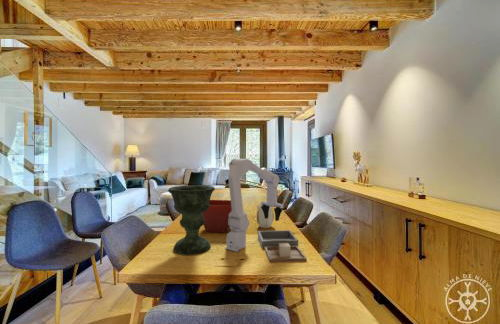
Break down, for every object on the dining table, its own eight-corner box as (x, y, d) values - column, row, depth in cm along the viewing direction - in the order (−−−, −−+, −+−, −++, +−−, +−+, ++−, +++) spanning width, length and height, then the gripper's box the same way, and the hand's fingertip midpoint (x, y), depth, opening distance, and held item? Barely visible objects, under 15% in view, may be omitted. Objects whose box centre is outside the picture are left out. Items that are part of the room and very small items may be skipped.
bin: (298, 248, 135) (298, 240, 135) (261, 249, 133) (261, 241, 133) (290, 237, 153) (290, 230, 153) (257, 238, 151) (257, 230, 151)
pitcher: (259, 231, 165) (259, 208, 165) (254, 223, 183) (254, 203, 182) (277, 230, 167) (277, 208, 166) (270, 223, 184) (270, 202, 184)
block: (290, 256, 122) (290, 246, 122) (280, 256, 122) (280, 246, 122) (288, 252, 126) (288, 243, 126) (278, 253, 126) (278, 243, 126)
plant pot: (236, 226, 177) (236, 200, 177) (231, 234, 158) (231, 205, 158) (207, 225, 179) (207, 199, 179) (198, 233, 160) (198, 204, 160)
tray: (306, 262, 117) (306, 258, 117) (269, 264, 116) (269, 259, 115) (297, 249, 133) (297, 245, 133) (264, 250, 131) (264, 246, 131)
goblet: (222, 244, 141) (222, 186, 140) (199, 259, 120) (198, 191, 119) (187, 239, 149) (186, 184, 149) (158, 252, 128) (158, 189, 128)
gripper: (286, 195, 151) (286, 220, 151) (266, 193, 161) (266, 216, 161) (278, 197, 146) (278, 222, 146) (258, 194, 156) (258, 218, 156)
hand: (271, 219), depth 153 cm, fingers open, 7 cm apart
